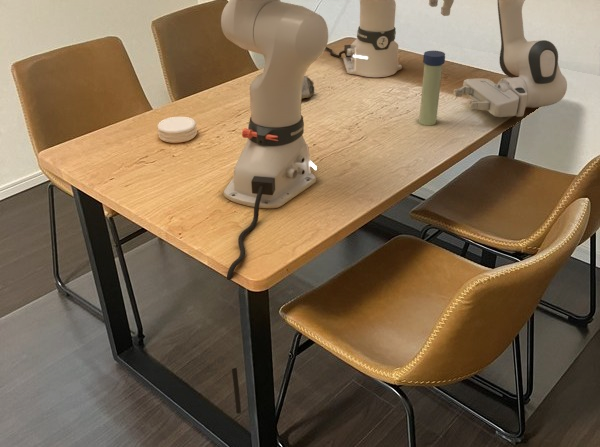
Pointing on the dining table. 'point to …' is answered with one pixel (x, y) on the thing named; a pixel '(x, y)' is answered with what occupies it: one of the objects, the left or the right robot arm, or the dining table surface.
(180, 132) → the white round tin
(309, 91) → the rock
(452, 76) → the dining table surface
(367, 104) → the dining table surface
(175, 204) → the dining table surface
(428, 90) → the green bottle
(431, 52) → the lid
